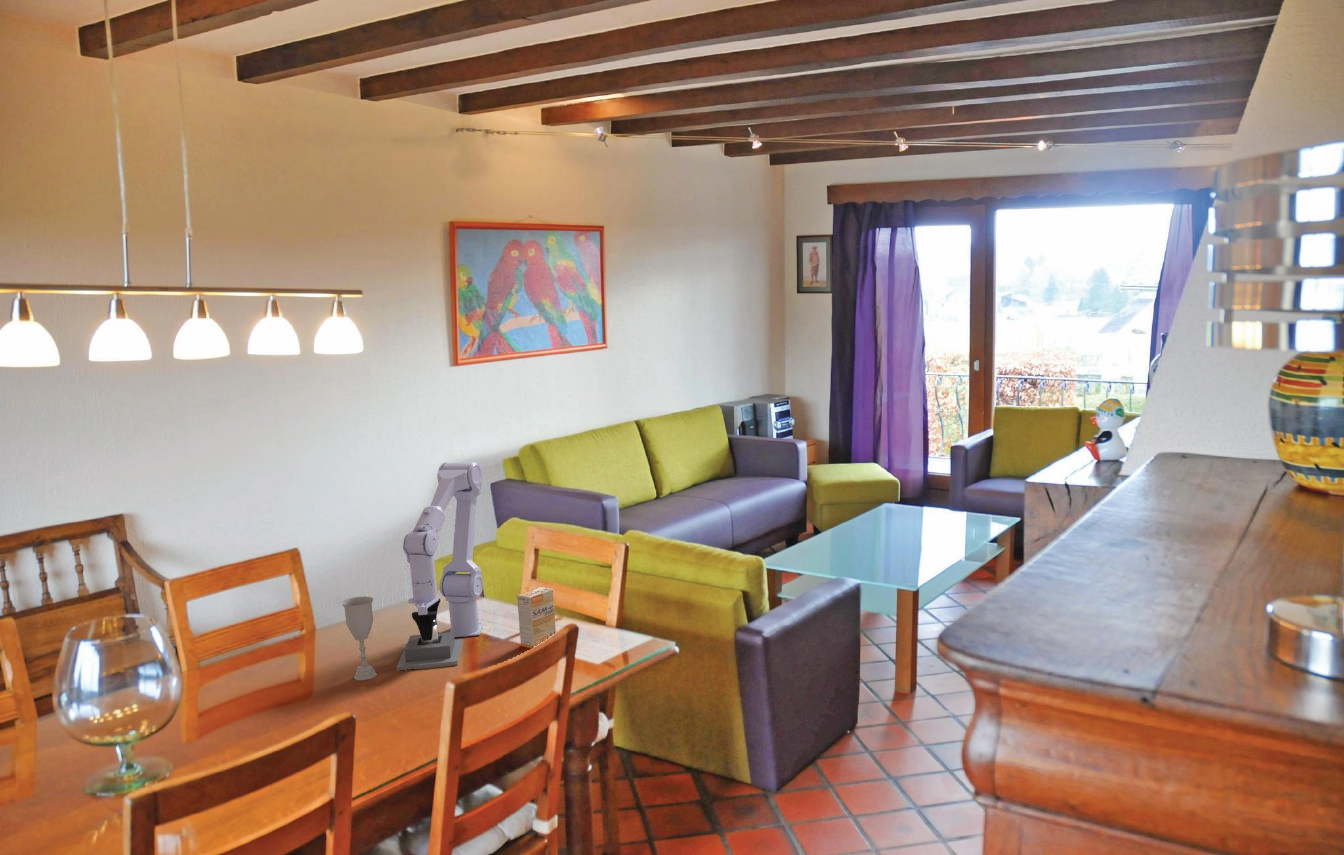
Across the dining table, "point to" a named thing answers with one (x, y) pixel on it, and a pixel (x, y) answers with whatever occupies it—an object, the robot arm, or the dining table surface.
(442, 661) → the socket mount
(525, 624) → the supplement box
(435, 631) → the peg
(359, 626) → the chalice
